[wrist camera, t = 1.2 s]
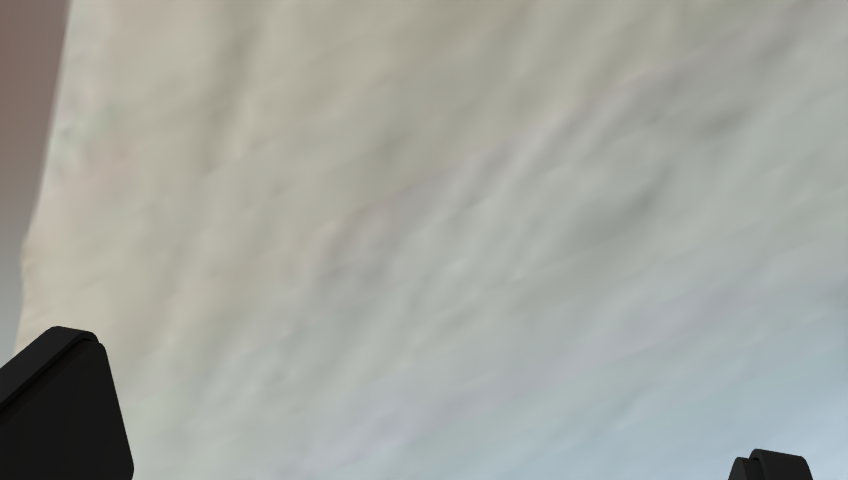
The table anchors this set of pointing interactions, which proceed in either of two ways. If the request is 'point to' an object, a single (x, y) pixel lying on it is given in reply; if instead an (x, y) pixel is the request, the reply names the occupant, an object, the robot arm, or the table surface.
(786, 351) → the table surface
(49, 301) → the table surface
